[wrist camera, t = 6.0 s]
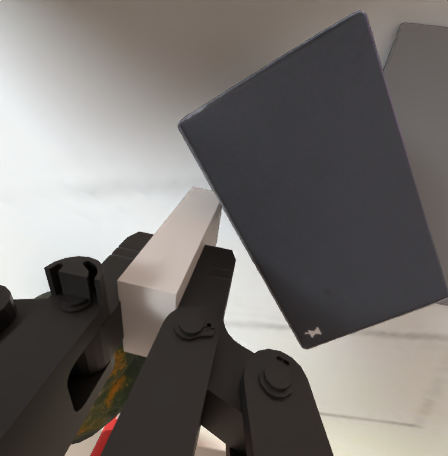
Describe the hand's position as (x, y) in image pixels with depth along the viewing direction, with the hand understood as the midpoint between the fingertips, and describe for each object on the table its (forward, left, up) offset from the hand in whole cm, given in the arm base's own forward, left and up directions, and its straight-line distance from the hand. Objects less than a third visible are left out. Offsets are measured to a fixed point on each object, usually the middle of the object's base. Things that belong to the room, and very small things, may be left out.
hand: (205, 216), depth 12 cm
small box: (+4, 0, -8) cm, 9 cm away
